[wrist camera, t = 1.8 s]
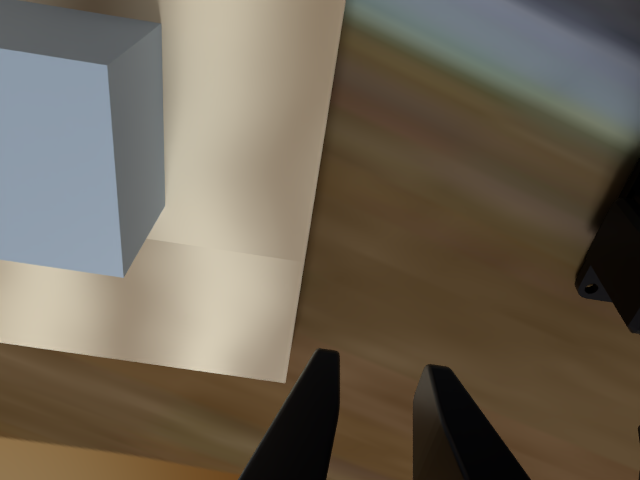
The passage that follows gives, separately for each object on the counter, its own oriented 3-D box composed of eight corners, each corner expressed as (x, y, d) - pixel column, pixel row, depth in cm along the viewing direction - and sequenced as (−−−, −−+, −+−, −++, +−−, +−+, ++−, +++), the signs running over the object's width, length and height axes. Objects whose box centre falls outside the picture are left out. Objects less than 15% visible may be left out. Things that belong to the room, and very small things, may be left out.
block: (161, 23, 15) (107, 65, 12) (165, 205, 19) (123, 277, 15) (-55, -12, 15) (-171, 21, 12) (-12, 179, 18) (-93, 246, 15)
